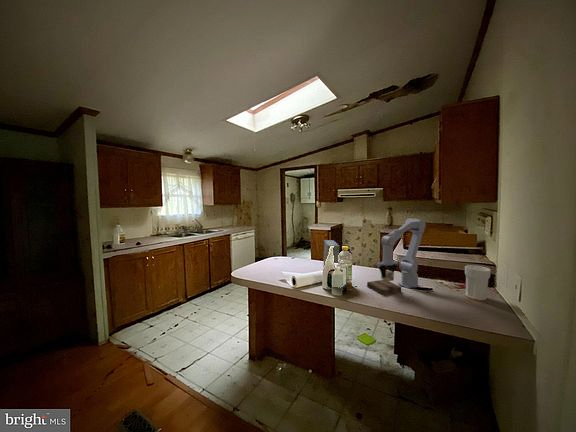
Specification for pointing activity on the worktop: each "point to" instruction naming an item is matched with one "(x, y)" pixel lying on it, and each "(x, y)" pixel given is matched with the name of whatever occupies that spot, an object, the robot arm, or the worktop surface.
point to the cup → (477, 282)
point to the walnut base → (384, 287)
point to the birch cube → (388, 276)
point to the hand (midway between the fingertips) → (387, 276)
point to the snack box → (326, 249)
